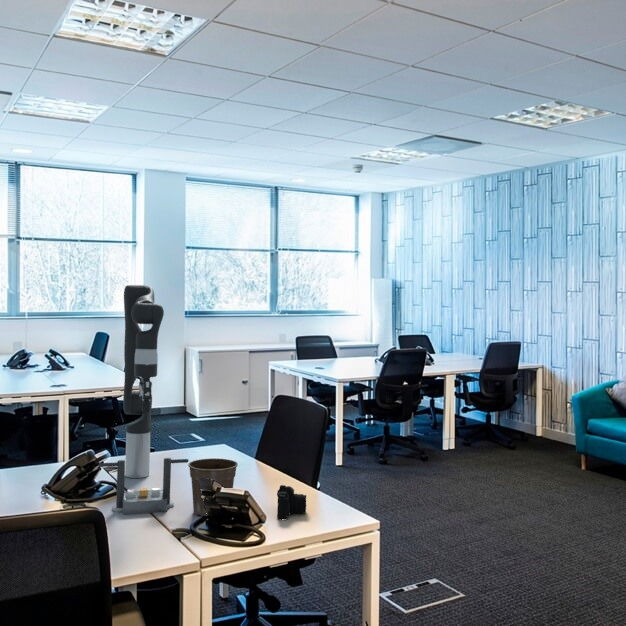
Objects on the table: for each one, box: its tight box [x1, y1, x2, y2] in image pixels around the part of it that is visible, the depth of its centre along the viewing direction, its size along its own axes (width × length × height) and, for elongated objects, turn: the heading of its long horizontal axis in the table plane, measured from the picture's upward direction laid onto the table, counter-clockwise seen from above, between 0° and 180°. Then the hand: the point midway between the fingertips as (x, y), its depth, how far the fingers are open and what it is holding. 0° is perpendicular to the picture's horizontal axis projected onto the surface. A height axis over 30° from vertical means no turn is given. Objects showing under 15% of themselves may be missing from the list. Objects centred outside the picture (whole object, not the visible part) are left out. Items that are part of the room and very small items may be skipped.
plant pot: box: [187, 457, 239, 517], centre depth 221 cm, size 16×16×16 cm
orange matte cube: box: [139, 487, 148, 497], centre depth 223 cm, size 2×2×2 cm
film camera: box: [276, 484, 307, 521], centre depth 223 cm, size 15×10×9 cm, turn 179°
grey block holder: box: [122, 487, 168, 516], centre depth 223 cm, size 12×14×6 cm
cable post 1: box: [98, 459, 126, 513], centre depth 220 cm, size 5×10×16 cm, turn 110°
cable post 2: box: [162, 457, 189, 509], centre depth 227 cm, size 5×10×16 cm, turn 110°
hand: (144, 410), depth 225 cm, fingers open, 8 cm apart
